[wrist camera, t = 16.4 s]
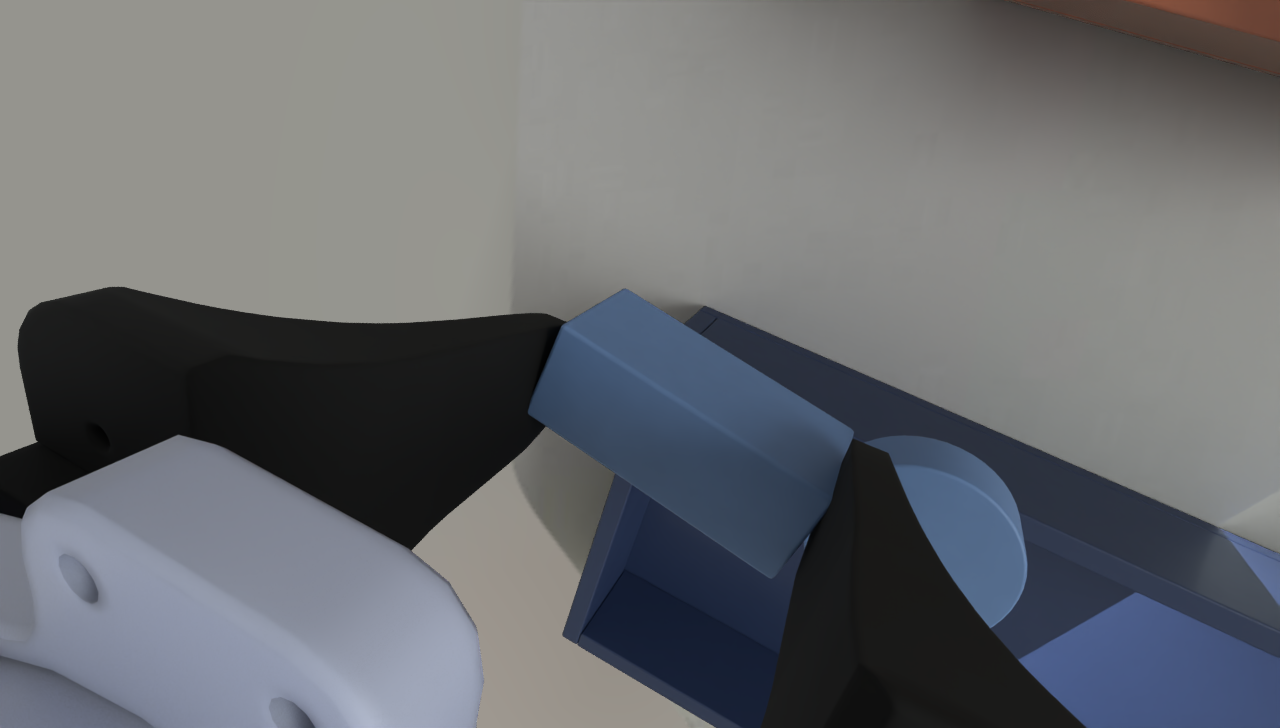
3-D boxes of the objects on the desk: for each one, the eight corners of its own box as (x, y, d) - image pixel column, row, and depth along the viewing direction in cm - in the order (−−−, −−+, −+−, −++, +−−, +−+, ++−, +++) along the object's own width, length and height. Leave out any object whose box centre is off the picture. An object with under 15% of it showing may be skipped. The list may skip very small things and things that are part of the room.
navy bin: (612, 564, 26) (560, 636, 22) (704, 304, 20) (656, 346, 17) (1359, 977, 20) (1447, 1163, 16) (1756, 758, 14) (2007, 963, 11)
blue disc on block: (575, 391, 15) (509, 444, 12) (641, 251, 13) (577, 283, 11) (938, 633, 13) (937, 742, 11) (1068, 511, 11) (1099, 611, 9)
